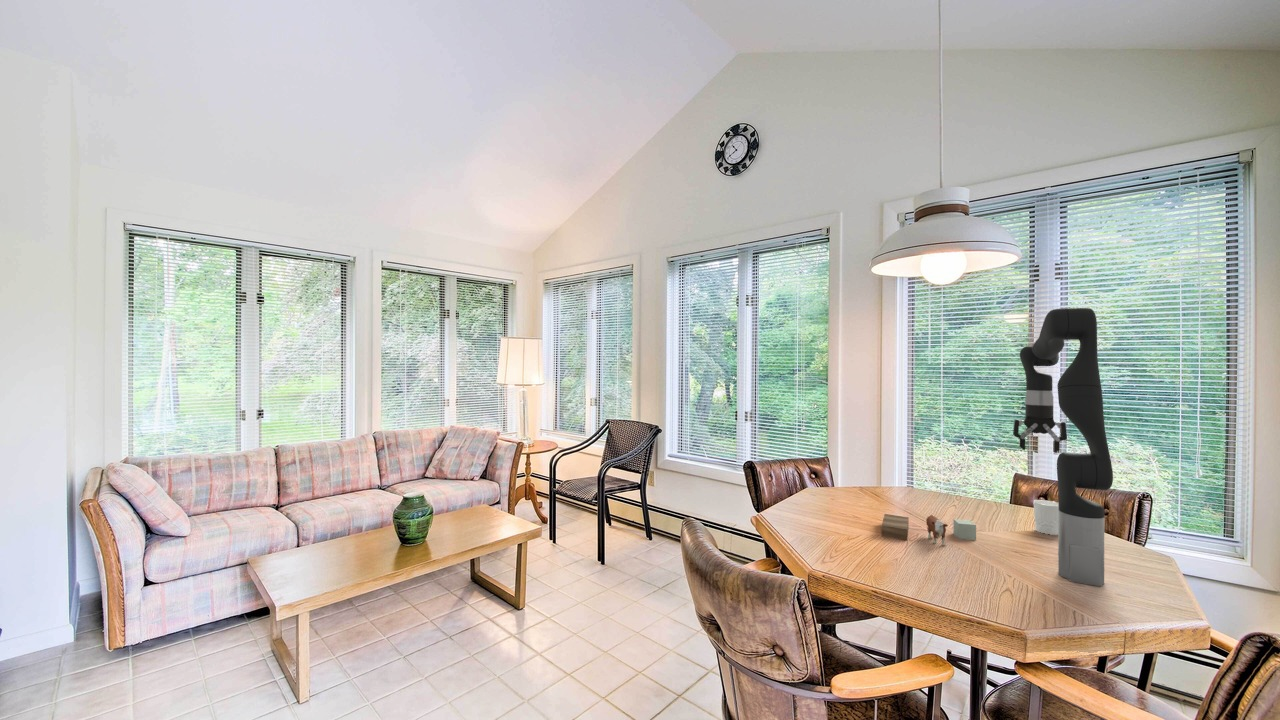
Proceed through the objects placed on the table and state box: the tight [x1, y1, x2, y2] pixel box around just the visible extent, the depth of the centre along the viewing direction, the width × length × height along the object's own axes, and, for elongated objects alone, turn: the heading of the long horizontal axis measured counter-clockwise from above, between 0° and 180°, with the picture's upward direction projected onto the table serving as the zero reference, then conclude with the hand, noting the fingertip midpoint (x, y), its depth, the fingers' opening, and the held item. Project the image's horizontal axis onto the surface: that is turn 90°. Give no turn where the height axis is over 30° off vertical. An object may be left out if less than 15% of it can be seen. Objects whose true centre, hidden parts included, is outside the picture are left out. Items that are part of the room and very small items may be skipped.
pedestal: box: [881, 513, 910, 542], centre depth 168 cm, size 15×8×4 cm, turn 150°
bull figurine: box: [925, 514, 949, 547], centre depth 159 cm, size 4×13×8 cm, turn 160°
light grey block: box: [1033, 499, 1059, 536], centre depth 170 cm, size 8×8×10 cm
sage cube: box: [952, 518, 977, 541], centre depth 164 cm, size 5×5×5 cm
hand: (1039, 451), depth 170 cm, fingers open, 8 cm apart
